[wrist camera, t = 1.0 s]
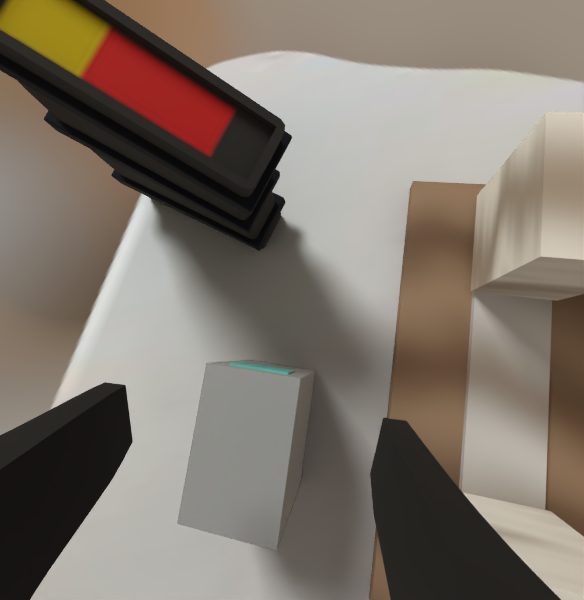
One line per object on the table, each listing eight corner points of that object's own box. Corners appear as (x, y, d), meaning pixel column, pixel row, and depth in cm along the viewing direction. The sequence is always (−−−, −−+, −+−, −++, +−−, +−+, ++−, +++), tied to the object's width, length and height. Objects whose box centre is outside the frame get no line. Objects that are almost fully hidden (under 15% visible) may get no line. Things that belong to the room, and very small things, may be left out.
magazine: (123, 133, 25) (-14, -92, 10) (273, 222, 27) (337, 147, 13) (99, 175, 24) (-78, 7, 10) (253, 260, 27) (294, 229, 13)
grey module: (300, 483, 20) (276, 550, 13) (232, 468, 21) (177, 523, 14) (315, 369, 21) (300, 376, 14) (250, 358, 22) (207, 360, 15)
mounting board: (613, 665, 16) (887, 986, 8) (369, 595, 18) (387, 791, 10) (615, 199, 20) (808, 88, 11) (410, 188, 22) (447, 90, 14)
